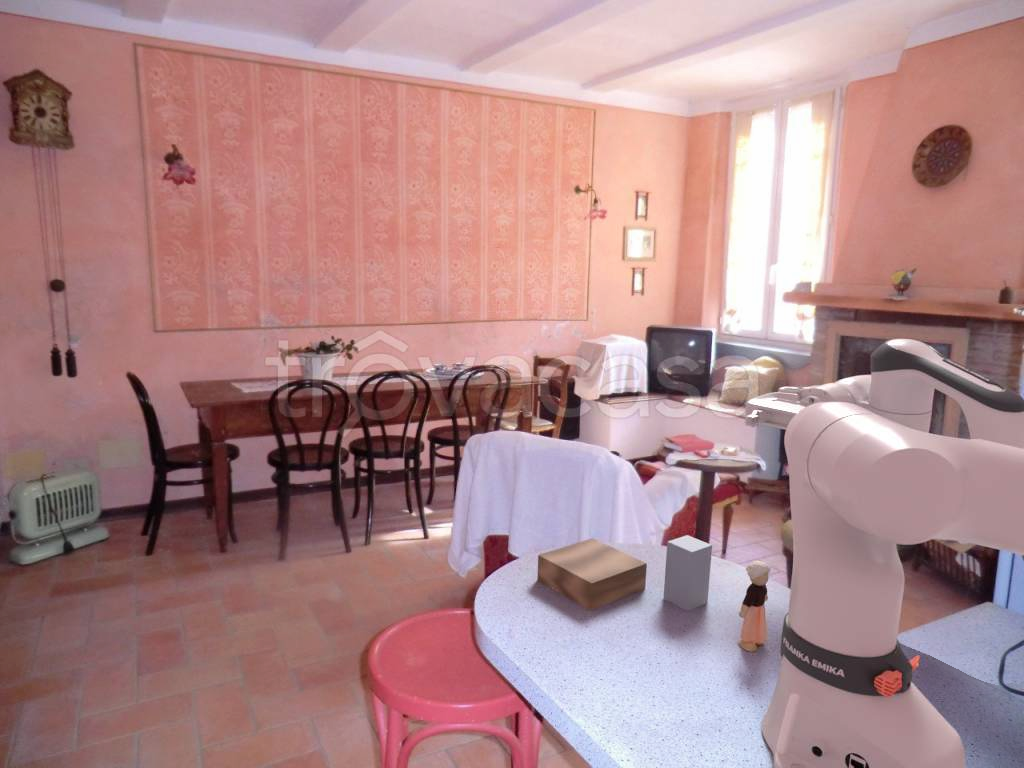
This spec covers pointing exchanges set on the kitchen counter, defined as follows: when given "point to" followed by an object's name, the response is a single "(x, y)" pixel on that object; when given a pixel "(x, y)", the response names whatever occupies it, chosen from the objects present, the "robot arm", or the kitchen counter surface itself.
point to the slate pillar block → (687, 572)
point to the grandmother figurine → (755, 607)
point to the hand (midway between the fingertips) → (770, 427)
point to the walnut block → (591, 573)
